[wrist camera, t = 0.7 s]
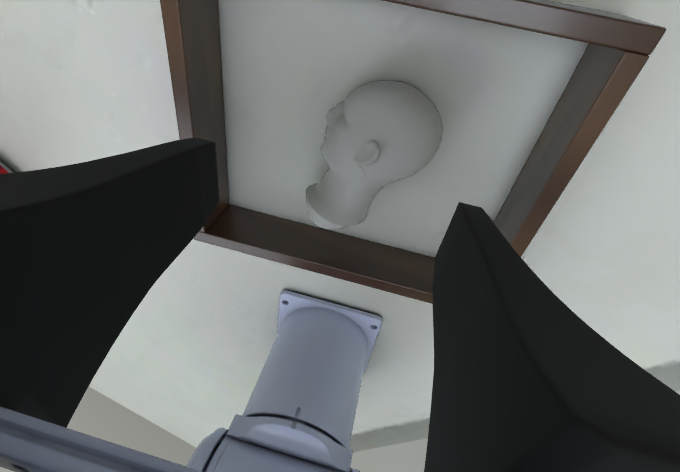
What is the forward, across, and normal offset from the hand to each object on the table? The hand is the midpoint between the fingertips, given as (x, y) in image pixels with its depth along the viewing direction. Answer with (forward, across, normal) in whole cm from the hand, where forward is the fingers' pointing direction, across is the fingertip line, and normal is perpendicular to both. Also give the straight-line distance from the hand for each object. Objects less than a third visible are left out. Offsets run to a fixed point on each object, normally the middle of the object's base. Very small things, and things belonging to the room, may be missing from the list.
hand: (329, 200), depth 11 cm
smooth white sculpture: (+9, 0, +2) cm, 10 cm away
